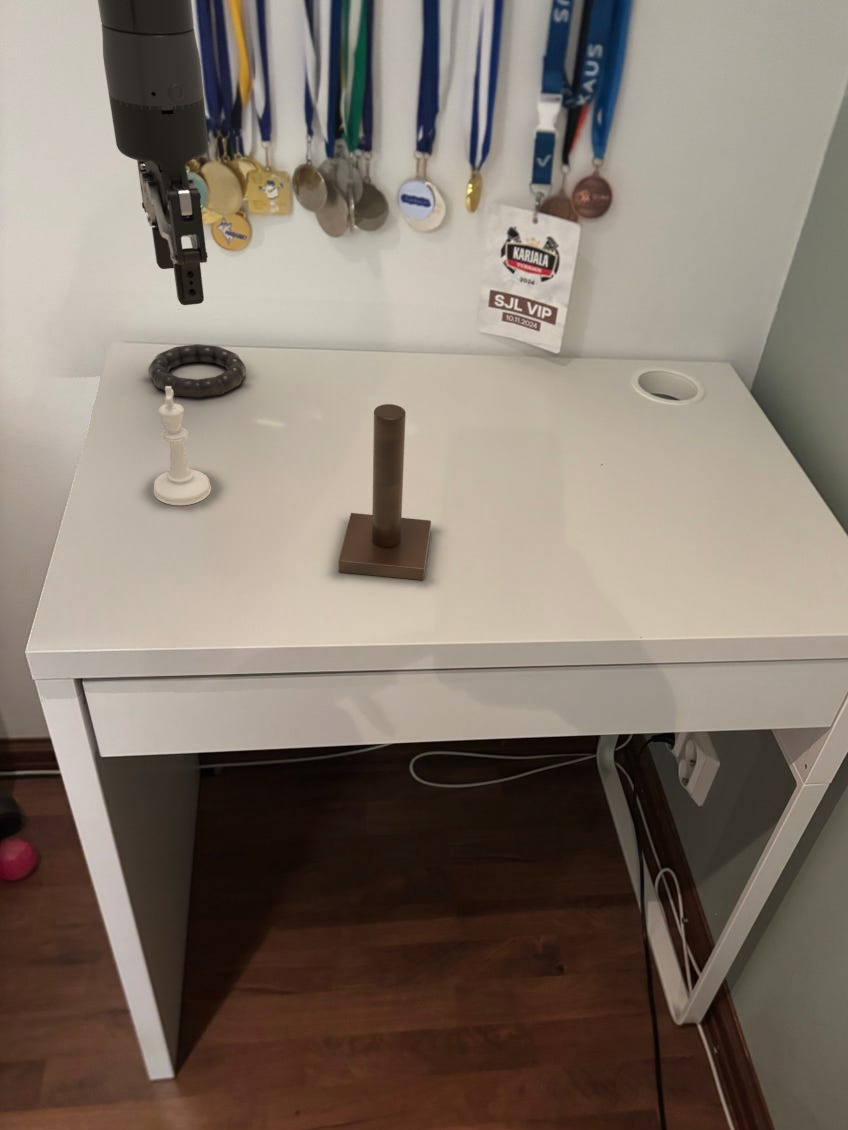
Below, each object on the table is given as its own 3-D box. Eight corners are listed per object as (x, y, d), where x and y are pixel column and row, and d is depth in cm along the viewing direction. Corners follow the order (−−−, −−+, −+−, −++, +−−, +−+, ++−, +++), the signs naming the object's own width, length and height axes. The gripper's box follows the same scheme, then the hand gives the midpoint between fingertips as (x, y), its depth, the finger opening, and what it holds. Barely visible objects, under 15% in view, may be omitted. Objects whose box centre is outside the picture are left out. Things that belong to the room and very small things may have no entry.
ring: (139, 395, 97) (136, 378, 96) (166, 353, 104) (164, 337, 103) (233, 404, 97) (232, 388, 96) (254, 362, 104) (253, 346, 103)
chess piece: (150, 505, 83) (132, 401, 76) (157, 475, 87) (140, 372, 80) (208, 505, 84) (196, 402, 77) (213, 475, 87) (201, 374, 81)
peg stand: (338, 572, 78) (336, 429, 70) (350, 523, 84) (350, 385, 75) (423, 580, 79) (432, 439, 70) (430, 531, 84) (439, 394, 75)
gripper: (92, 69, 82) (123, 260, 92) (126, 114, 72) (155, 320, 83) (181, 68, 84) (201, 253, 95) (224, 112, 75) (240, 311, 86)
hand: (180, 284), depth 89 cm, fingers open, 8 cm apart
